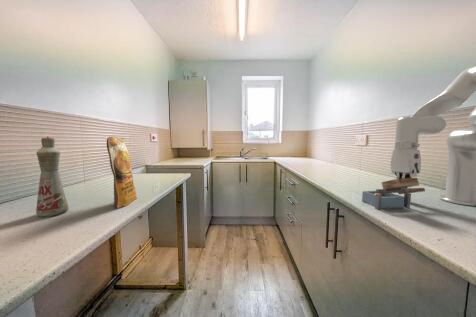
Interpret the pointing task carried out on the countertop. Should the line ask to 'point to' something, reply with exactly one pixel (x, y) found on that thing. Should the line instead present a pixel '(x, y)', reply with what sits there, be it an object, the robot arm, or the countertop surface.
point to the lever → (400, 186)
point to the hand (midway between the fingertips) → (402, 188)
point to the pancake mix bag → (121, 172)
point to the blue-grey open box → (384, 199)
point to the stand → (379, 199)
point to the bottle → (50, 181)
